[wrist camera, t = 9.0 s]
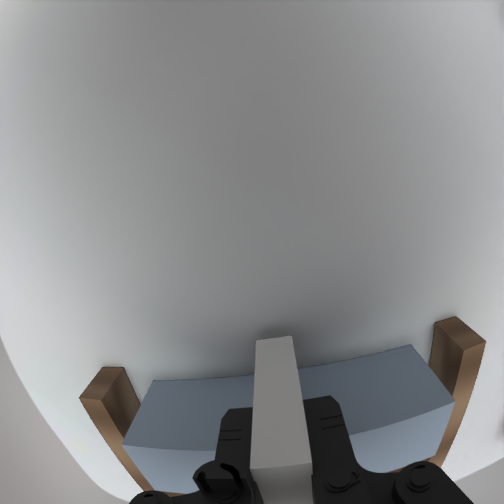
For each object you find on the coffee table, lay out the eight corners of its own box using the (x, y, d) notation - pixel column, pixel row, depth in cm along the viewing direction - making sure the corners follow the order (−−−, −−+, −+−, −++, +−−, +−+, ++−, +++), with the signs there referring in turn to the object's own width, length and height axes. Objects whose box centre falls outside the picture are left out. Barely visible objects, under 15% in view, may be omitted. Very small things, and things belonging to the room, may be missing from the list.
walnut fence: (102, 367, 14) (78, 397, 11) (456, 316, 13) (486, 341, 10) (180, 498, 18) (174, 524, 15) (416, 467, 16) (426, 492, 13)
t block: (153, 380, 14) (121, 444, 10) (411, 344, 13) (455, 401, 9) (201, 477, 17) (190, 529, 12) (391, 452, 16) (410, 503, 11)
